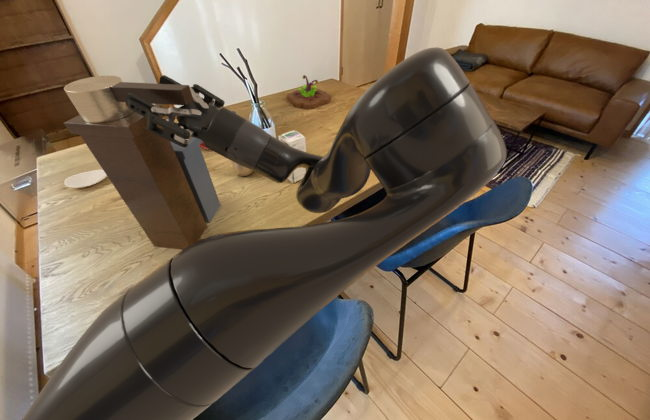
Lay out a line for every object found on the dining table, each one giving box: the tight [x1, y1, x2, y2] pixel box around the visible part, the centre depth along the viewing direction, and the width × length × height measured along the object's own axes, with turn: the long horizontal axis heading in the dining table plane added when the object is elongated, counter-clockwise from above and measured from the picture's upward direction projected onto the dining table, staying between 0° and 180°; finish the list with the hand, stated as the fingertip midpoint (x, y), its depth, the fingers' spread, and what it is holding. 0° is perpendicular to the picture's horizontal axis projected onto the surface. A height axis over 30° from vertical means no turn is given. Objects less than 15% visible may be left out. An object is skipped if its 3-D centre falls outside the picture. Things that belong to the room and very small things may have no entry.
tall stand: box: [63, 104, 208, 251], centre depth 59 cm, size 9×12×32 cm
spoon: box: [63, 168, 108, 189], centre depth 90 cm, size 9×32×4 cm, turn 122°
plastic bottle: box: [231, 110, 254, 177], centre depth 83 cm, size 6×7×20 cm
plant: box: [286, 74, 332, 110], centre depth 132 cm, size 20×20×11 cm
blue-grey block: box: [170, 137, 221, 224], centre depth 69 cm, size 8×12×22 cm, turn 82°
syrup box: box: [277, 129, 307, 184], centre depth 83 cm, size 6×6×14 cm
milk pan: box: [63, 75, 193, 123], centre depth 46 cm, size 8×20×5 cm, turn 82°
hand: (145, 88), depth 44 cm, fingers open, 8 cm apart
